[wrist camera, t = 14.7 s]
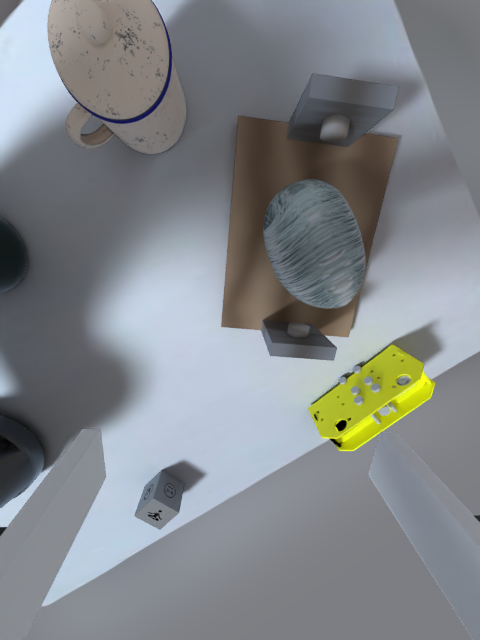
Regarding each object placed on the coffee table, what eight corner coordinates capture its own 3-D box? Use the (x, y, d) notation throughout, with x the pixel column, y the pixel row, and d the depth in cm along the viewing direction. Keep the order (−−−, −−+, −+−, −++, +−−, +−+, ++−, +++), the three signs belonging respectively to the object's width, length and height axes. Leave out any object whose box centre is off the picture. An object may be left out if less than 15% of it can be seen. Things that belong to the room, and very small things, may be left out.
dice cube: (144, 486, 43) (134, 516, 38) (161, 469, 42) (153, 498, 37) (167, 499, 44) (160, 529, 40) (184, 483, 43) (178, 512, 39)
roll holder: (221, 323, 34) (218, 351, 25) (237, 122, 27) (241, 62, 18) (343, 333, 36) (382, 364, 27) (390, 143, 29) (464, 96, 19)
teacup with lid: (145, 34, 25) (77, -136, 14) (206, 117, 27) (189, 29, 16) (70, 123, 27) (-43, 38, 16) (132, 193, 29) (72, 162, 18)
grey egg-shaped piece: (235, 203, 26) (263, 231, 18) (314, 153, 25) (379, 159, 17) (280, 293, 35) (312, 338, 27) (341, 258, 33) (393, 294, 26)
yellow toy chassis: (387, 339, 36) (431, 366, 28) (406, 364, 38) (453, 396, 30) (304, 403, 39) (323, 443, 31) (325, 423, 41) (348, 467, 33)
